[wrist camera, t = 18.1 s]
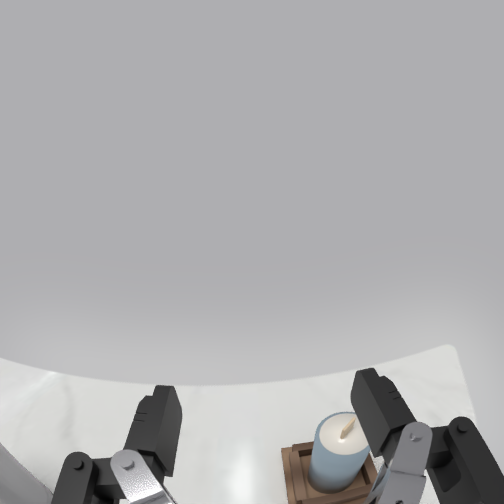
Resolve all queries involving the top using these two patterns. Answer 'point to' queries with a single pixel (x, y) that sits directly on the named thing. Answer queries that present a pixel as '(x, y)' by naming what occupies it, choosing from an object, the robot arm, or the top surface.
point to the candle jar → (337, 453)
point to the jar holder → (309, 500)
